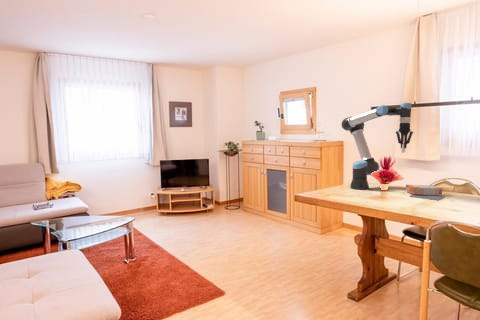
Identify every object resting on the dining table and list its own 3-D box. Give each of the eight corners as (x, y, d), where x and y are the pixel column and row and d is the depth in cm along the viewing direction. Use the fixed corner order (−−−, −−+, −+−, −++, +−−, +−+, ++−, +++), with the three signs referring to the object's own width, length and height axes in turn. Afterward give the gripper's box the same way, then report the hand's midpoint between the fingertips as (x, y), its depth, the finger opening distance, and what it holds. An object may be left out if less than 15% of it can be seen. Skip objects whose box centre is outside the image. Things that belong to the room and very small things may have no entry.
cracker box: (414, 195, 239) (442, 195, 238) (414, 187, 238) (442, 187, 238) (405, 191, 253) (431, 192, 252) (405, 184, 252) (432, 184, 252)
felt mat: (409, 196, 236) (409, 196, 236) (416, 193, 247) (416, 193, 247) (438, 200, 222) (438, 199, 222) (444, 197, 233) (444, 196, 233)
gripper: (394, 122, 252) (392, 152, 255) (411, 122, 242) (409, 153, 245) (398, 122, 257) (396, 151, 260) (415, 122, 247) (413, 152, 250)
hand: (403, 152), depth 252 cm, fingers closed
